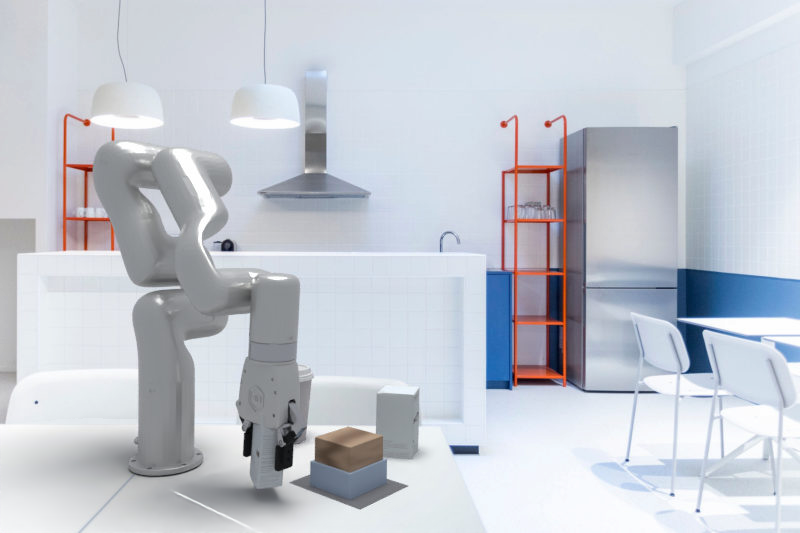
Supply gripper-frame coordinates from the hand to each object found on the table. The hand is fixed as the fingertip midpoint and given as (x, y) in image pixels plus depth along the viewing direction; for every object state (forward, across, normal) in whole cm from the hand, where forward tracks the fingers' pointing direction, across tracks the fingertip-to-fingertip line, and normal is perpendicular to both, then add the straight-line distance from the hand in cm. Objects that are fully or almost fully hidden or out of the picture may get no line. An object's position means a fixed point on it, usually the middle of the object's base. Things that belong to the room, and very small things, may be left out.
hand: (267, 460), depth 96 cm
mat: (+5, +8, +11) cm, 14 cm away
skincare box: (+3, 0, 0) cm, 3 cm away
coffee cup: (+7, -18, +21) cm, 29 cm away
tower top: (+1, +7, +11) cm, 13 cm away
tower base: (+5, +8, +11) cm, 14 cm away
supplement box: (+5, +4, +29) cm, 30 cm away
